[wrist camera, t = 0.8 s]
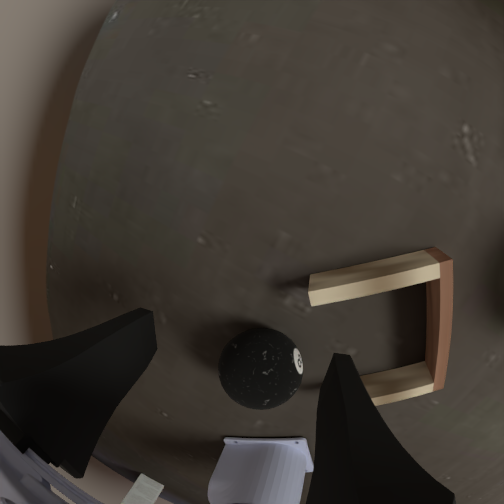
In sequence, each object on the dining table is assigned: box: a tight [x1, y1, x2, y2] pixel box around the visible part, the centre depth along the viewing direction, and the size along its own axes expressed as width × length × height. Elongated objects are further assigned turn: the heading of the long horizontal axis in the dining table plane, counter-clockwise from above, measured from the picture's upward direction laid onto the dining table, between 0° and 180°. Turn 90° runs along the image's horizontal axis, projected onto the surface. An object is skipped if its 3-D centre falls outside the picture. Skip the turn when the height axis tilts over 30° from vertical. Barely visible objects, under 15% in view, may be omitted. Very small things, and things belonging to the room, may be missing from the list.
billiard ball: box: [218, 328, 303, 410], centre depth 19 cm, size 6×6×6 cm
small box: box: [121, 473, 164, 504], centre depth 34 cm, size 8×6×10 cm
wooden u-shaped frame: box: [308, 247, 453, 406], centre depth 17 cm, size 10×11×3 cm
